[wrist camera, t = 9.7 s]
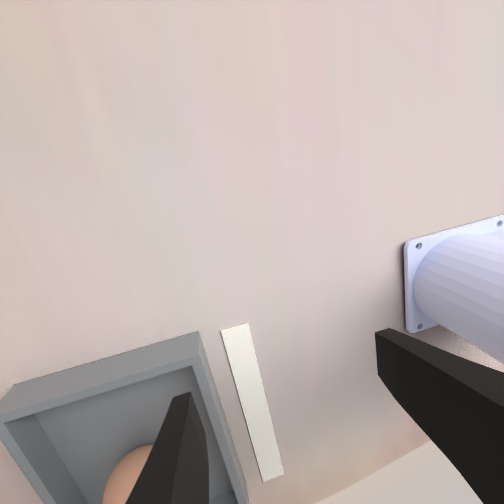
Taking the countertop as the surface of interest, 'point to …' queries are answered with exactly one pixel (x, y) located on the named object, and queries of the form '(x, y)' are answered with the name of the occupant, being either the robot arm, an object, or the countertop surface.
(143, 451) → the ball
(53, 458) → the tray
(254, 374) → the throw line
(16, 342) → the countertop surface
